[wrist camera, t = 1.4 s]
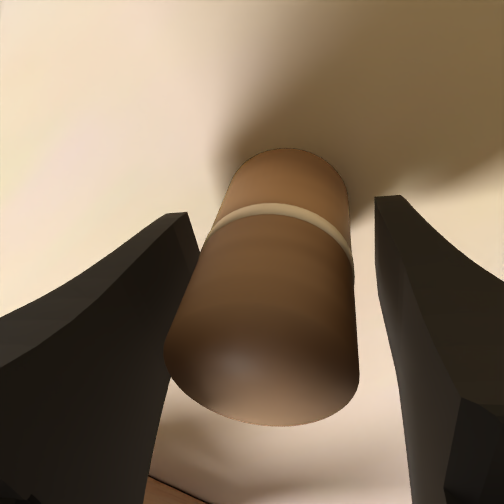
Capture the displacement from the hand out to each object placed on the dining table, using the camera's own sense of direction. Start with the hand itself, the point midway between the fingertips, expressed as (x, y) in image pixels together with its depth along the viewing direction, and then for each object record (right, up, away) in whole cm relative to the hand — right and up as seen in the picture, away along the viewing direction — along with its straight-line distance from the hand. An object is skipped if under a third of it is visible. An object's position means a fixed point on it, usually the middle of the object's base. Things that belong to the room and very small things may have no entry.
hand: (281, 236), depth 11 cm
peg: (0, +1, +1) cm, 2 cm away
